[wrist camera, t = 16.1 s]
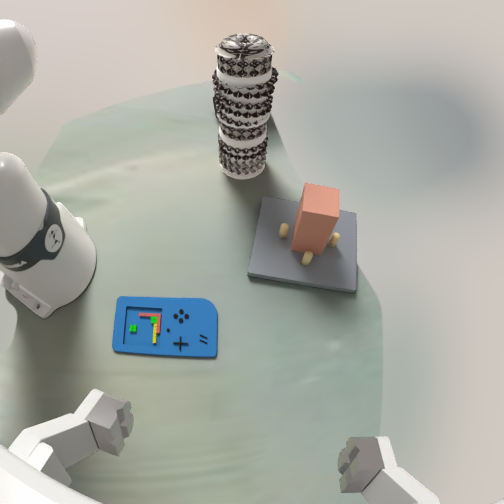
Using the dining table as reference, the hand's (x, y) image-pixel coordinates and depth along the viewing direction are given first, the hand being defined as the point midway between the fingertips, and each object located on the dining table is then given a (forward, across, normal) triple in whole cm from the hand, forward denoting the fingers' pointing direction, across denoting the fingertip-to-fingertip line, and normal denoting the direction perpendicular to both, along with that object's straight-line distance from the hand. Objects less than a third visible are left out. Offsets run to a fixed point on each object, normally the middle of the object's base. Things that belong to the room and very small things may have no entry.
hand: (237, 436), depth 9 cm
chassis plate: (+39, -6, +2) cm, 39 cm away
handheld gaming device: (+28, +12, +14) cm, 33 cm away
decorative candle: (+50, +7, -8) cm, 51 cm away
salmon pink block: (+38, -6, +1) cm, 38 cm away
